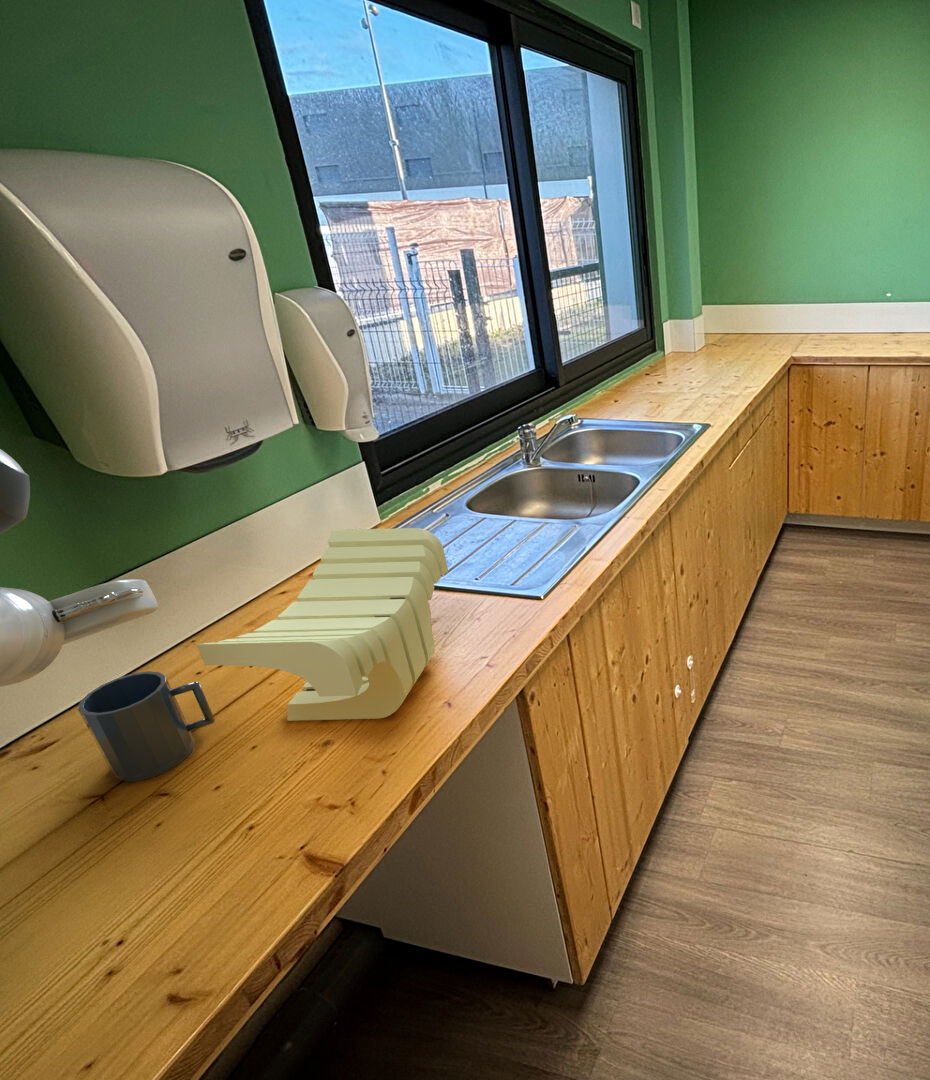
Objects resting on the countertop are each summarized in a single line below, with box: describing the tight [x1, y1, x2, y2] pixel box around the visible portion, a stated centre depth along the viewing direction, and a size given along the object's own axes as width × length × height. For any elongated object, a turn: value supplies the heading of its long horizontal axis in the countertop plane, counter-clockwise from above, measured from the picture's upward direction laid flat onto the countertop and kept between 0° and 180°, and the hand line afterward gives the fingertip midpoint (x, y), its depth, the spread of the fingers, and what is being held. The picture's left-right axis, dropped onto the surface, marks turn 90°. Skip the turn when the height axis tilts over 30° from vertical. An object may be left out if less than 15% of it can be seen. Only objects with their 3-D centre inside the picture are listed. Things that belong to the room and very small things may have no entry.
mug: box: [77, 671, 216, 782], centre depth 85 cm, size 11×8×10 cm
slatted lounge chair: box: [195, 527, 450, 722], centre depth 94 cm, size 30×16×18 cm, turn 0°
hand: (55, 634), depth 74 cm, fingers open, 8 cm apart
